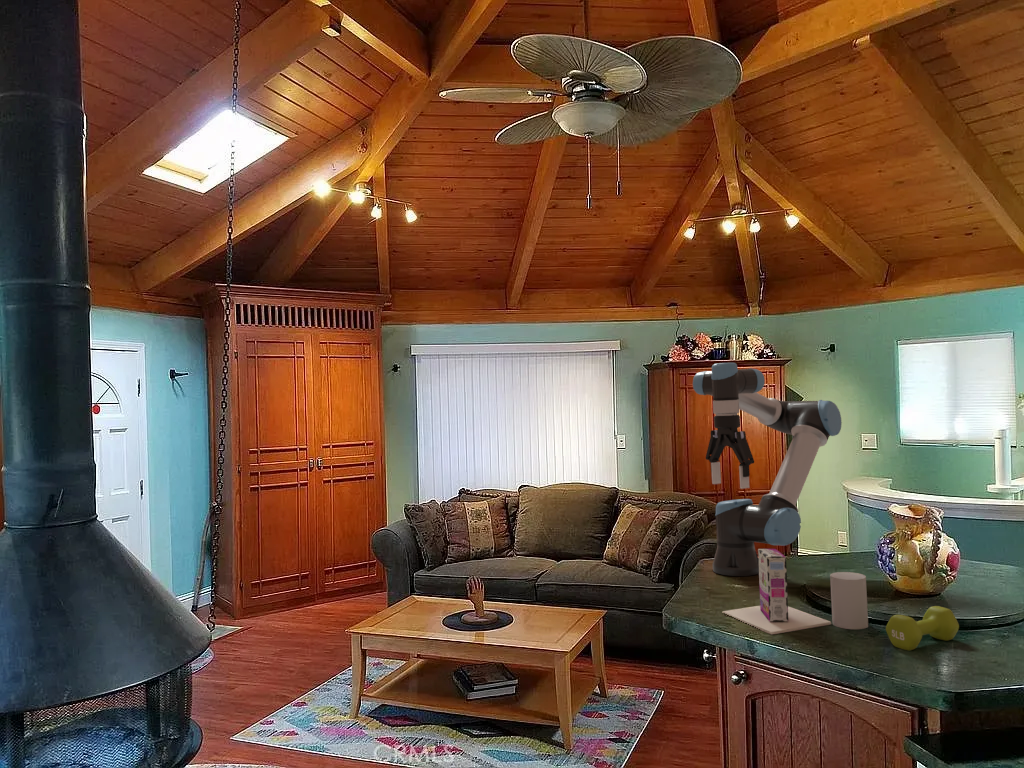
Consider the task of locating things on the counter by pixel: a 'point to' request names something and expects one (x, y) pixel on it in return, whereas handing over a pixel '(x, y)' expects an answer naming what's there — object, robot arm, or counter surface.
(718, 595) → the counter surface
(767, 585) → the candy bar box
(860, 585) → the cup
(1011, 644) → the counter surface
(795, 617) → the mat
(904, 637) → the dumbbell
